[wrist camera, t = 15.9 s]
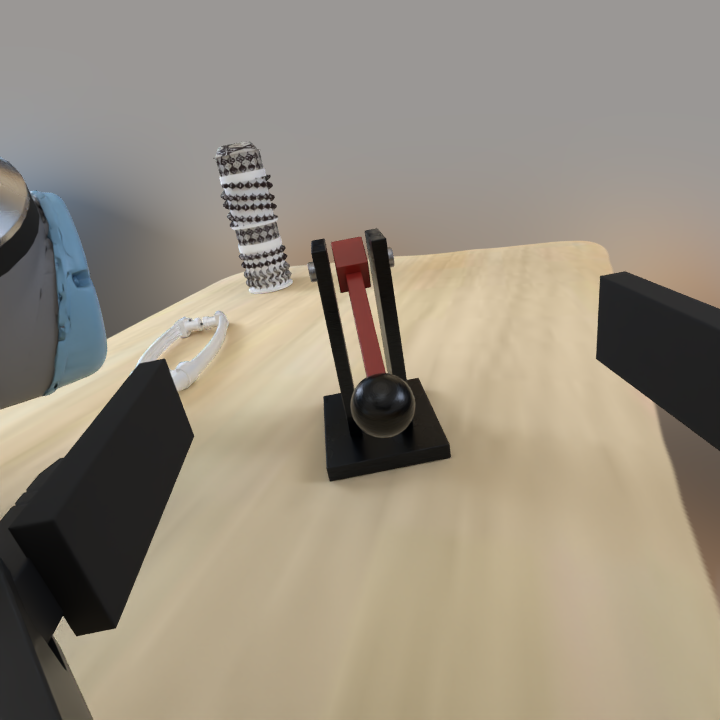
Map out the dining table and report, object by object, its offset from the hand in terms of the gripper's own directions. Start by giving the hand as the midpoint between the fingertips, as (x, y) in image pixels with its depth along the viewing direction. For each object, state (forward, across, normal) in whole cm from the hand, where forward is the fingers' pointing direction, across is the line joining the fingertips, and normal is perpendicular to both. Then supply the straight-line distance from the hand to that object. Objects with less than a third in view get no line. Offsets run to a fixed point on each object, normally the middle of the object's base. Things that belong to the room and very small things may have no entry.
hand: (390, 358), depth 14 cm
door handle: (+46, -23, -16) cm, 54 cm away
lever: (+16, 0, -6) cm, 17 cm away
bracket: (+20, 0, -16) cm, 26 cm away
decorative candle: (+76, -14, -17) cm, 79 cm away
